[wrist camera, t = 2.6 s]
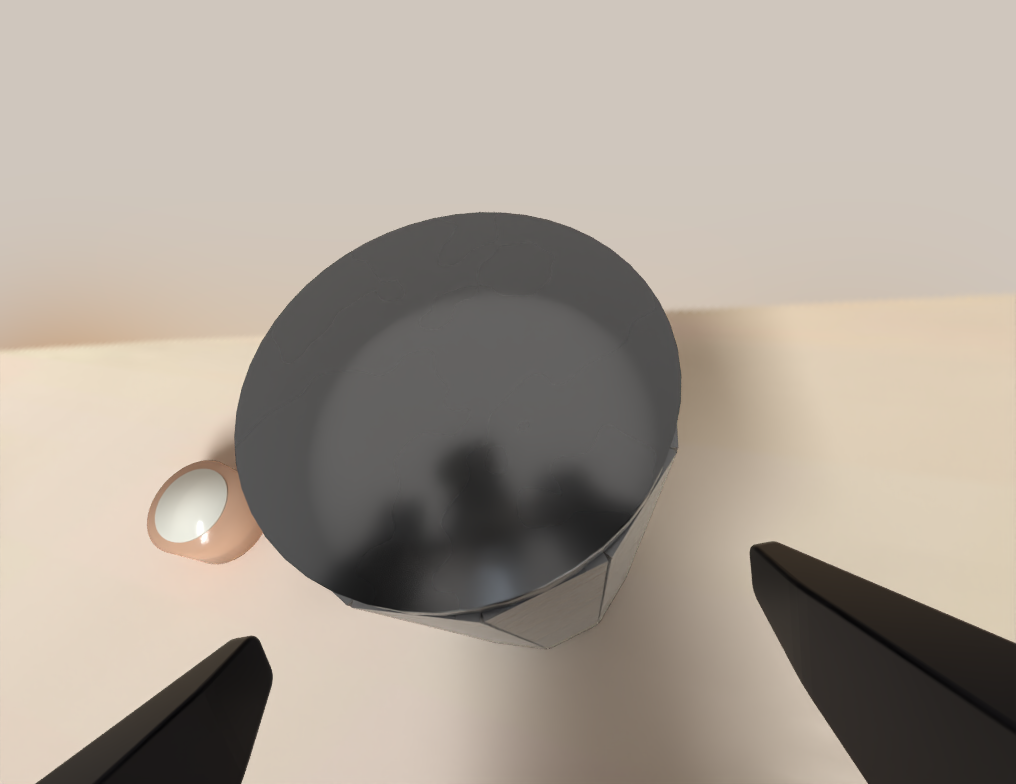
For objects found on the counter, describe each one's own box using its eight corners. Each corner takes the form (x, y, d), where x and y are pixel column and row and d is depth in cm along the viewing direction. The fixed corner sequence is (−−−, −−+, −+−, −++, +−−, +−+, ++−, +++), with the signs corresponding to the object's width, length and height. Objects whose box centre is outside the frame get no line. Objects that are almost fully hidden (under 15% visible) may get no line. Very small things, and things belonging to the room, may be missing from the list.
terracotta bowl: (221, 583, 20) (178, 573, 18) (173, 531, 22) (128, 516, 20) (287, 508, 22) (254, 491, 20) (237, 464, 23) (201, 443, 21)
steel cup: (555, 695, 17) (486, 754, 6) (402, 564, 20) (151, 429, 8) (662, 516, 19) (764, 303, 8) (510, 423, 22) (428, 171, 11)
